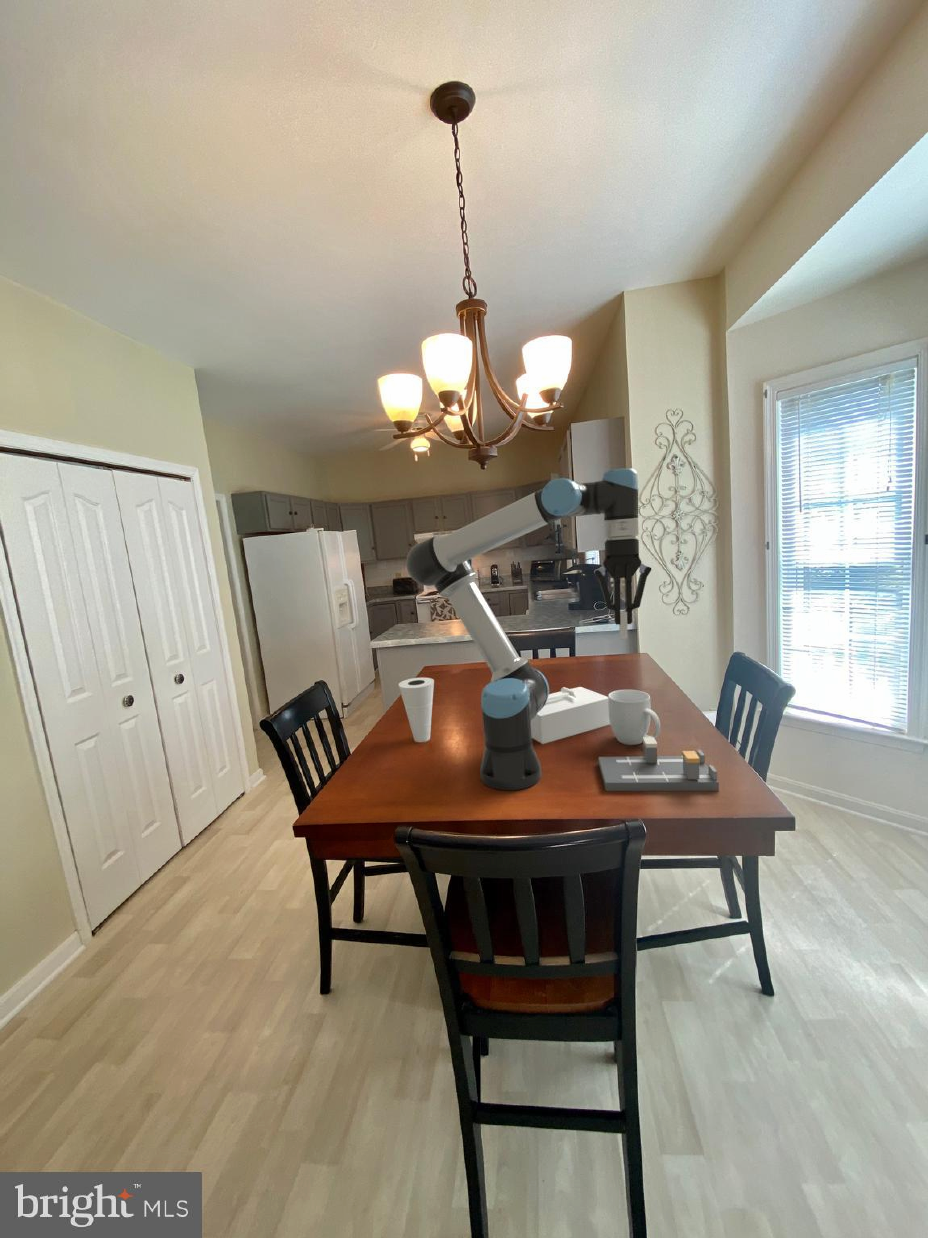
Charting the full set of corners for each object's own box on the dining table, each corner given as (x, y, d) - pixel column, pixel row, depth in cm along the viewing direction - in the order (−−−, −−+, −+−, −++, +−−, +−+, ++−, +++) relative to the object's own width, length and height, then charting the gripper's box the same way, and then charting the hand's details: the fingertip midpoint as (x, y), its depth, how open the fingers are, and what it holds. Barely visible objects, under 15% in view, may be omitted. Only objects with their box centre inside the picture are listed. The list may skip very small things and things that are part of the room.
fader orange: (687, 779, 106) (687, 758, 106) (682, 771, 110) (682, 751, 109) (700, 779, 106) (699, 758, 105) (694, 771, 110) (694, 750, 109)
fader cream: (646, 763, 115) (646, 743, 115) (643, 756, 119) (642, 737, 118) (657, 763, 115) (657, 743, 114) (654, 756, 119) (653, 737, 118)
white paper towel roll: (399, 745, 144) (392, 688, 141) (413, 731, 154) (407, 677, 151) (432, 747, 141) (426, 688, 138) (444, 732, 151) (438, 677, 148)
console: (605, 790, 109) (605, 774, 108) (598, 764, 122) (598, 749, 121) (718, 790, 105) (718, 773, 105) (699, 763, 118) (699, 748, 117)
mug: (672, 744, 129) (671, 698, 127) (647, 757, 123) (645, 708, 121) (626, 729, 142) (625, 686, 140) (601, 740, 136) (599, 696, 134)
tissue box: (611, 724, 146) (610, 690, 145) (542, 745, 137) (540, 708, 135) (581, 711, 160) (579, 679, 158) (516, 729, 150) (514, 695, 148)
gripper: (593, 540, 109) (596, 641, 113) (654, 536, 107) (655, 640, 110) (591, 540, 116) (594, 635, 120) (648, 536, 114) (649, 633, 118)
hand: (623, 637), depth 115 cm, fingers closed
